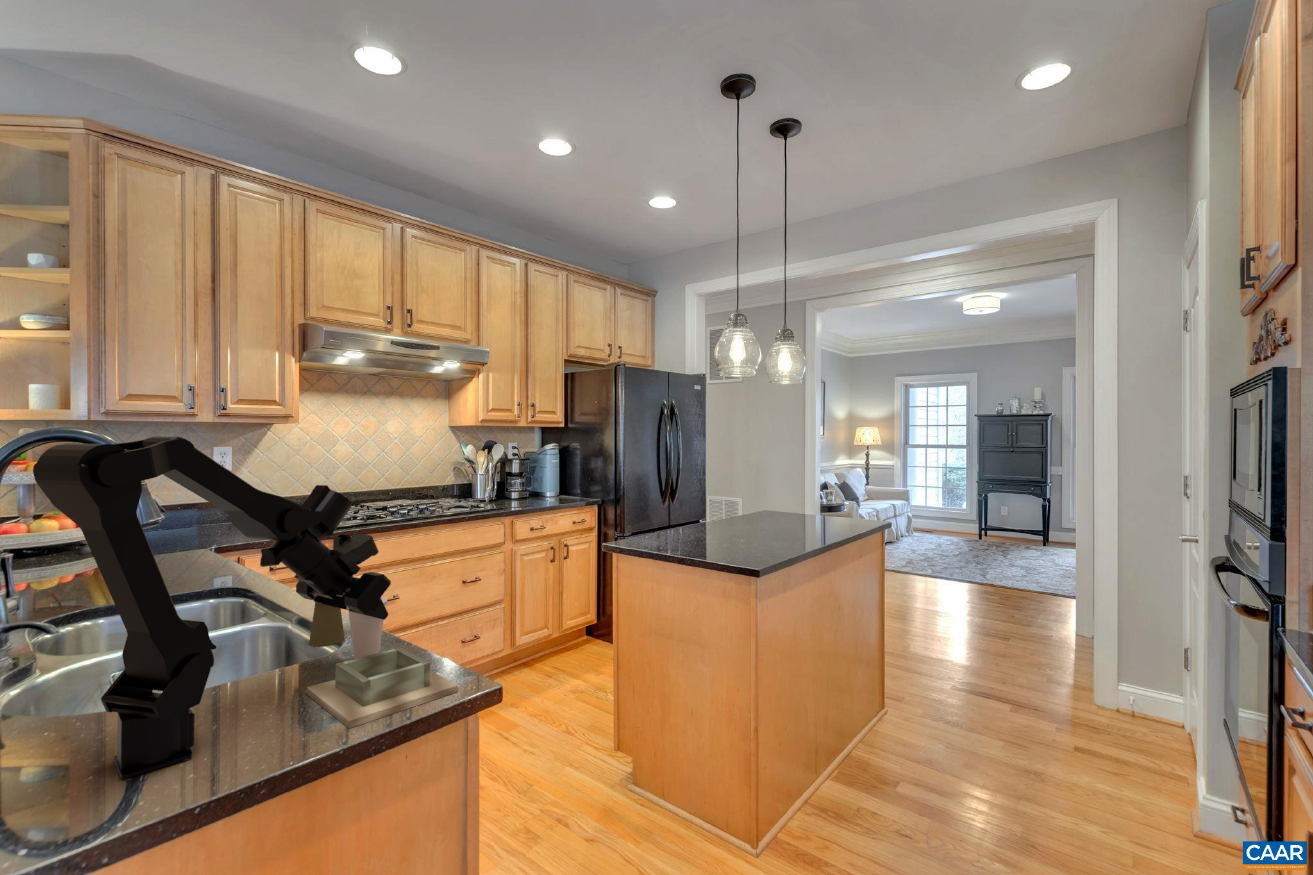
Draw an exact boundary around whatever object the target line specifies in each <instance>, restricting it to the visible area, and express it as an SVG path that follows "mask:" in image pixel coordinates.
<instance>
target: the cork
mask: <svg viewBox="0 0 1313 875" xmlns="http://www.w3.org/2000/svg"><path fill="white" fill-rule="evenodd" d="M313 595H314V598H315V597H316V595H315V594H313ZM314 598H313V600H312V601H313V602H314ZM310 627H311V628H310V634H309V640H308V645H309V646H311V647H314V648H315V647H317V648H318V647H319V648H320V647H331V646H335V645H339V644H341V643H342V642H344V641H345V639H346V638H345V631H344V623H343V616H342V609H341V608H337V607H333V606H329V605H325V604H321V603H318V602H314V608H313V616H312V621H311V626H310Z"/></svg>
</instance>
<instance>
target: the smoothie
mask: <svg viewBox="0 0 1313 875" xmlns="http://www.w3.org/2000/svg"><path fill="white" fill-rule="evenodd" d="M381 600H382V602H383V604H384V606H385V608H386V607H388V598H386V597H382V596H381ZM346 611H347V612H348V619H349V628H350V634H351V642H352V648H353V649H352V650H353V658H354V659H357V658H361V657H365V656H368V655H372V654H376V653H380V651H381V650H380V648H381V642H382V634H383V629H384V628H383V627H384V621H385V620H383V619H379V618H375V617H371V616H367V615H363V614H359V613H355V612H351V611H349V608H348V607H347V608H346Z"/></svg>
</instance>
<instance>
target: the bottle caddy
mask: <svg viewBox="0 0 1313 875" xmlns="http://www.w3.org/2000/svg"><path fill="white" fill-rule="evenodd" d="M334 678H335V679H332V680H329V681H325V682H321V683H318V684H313V685H310V686H307V687H306V695H307V696H308V697H309V698H311V699H312V700H314V701H315V703H317V704H318V705H319V706H321V707H322V708H323V709H325V710H326V711H327V712H328V713H329V714H331V715H332V716H333V717H334V718H335V719H337V720H338V721H339V722H341V723H342V724H343V725H344V726H346V728H348V729H352V728H355V727H358V726H361V725H363V724H367V723H370V722H372V721H376V720H378V719H382V718H384V717H387V716H390V715H393V714H396V713H399V712H402V711H405V710H408V709H411V708H415V707H416V706H420V705H422V704H426V703H429V702H431V701H434V700H438V699H440V698H443V697H446V696H449V695H453V694H455V693H458V692H459V684H457V683H455V682H453V681H452V680H451V681H450V680H449V679H448V678H445V677H443V676H442V675H440V674H438V673H436V672H434V671H432V670H431V662H429V661H427V660H425V659H424V658H421V657H420V656H418V655H416V654H414V653H412V652H410V651H408V650H406V649H404V648H402V647H397V648H393V649H389V650H385V651H379V653H376V654H372V655H368V656H365V657H361V658H357V659H349V660H345V661H341V662H339V663H338V662H337V663H335V677H334Z"/></svg>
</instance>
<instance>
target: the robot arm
mask: <svg viewBox="0 0 1313 875" xmlns="http://www.w3.org/2000/svg"><path fill="white" fill-rule="evenodd" d="M32 467H33V468H32V473H33V474H32V475H33V477H34V481H35V482H36V484H37V485H38V487H39V488H40V489H41V490H42V492H43V493H44V495H45V496H46V497H47V499H48V500H49V502H50V503H51V504H52V506H54V508H56V509H57V510H58V511H60V512H61V513H63V514H64V515H65V516H66V517H67V518H68V519H69V520H71V521H72V522H73V523H74V524H76V525H77V526H78V528H80V531H81V532H82V535H83V537H84V539H85V541H86V543H87V546H88V547H89V549H90V551H91V555H92V557H93V559H94V561H95V563H96V566H97V568H98V570H99V572H100V574H101V577H102V579H103V581H104V584H105V586H106V587H107V590H108V592H109V594H110V596H111V598H112V601H113V603H114V606H115V608H116V610H117V613H118V615H119V617H120V619H121V621H122V623H123V625H124V627H125V628H124V629H125V630H126V634H127V636H126V639H125V643H124V646H123V650H122V654H121V656H122V660H123V665H124V666H123V667H124V669H123V671H122V672H120V674H119V675H118V677H116V679H115V680H114V681H113V683H112V684H111V685H110V686H109V687H108V689H107V690H106V691H105V692H104V694H102V696H101V697H100V701H101V703H102V706H103V707H104V709H105V711H106V713H117V733H116V735H117V736H116V738H117V739H116V740H117V742H116V743H117V745H116V747H117V750H116V755H114V756H113V761H114V762H113V763H114V764H115V766H116V769H117V772H118V774H119V777H120V779H121V780H122V779H128V778H132V777H136V776H139V775H141V774H144V773H148V772H151V771H154V770H157V769H160V768H163V767H167V766H171V765H173V764H177V763H180V762H183V761H187V760H189V759H191V758H193V752H192V749H191V748H193V747H194V746H195V713H194V711H193V710H192V709H191V708H194V707H196V706H198V705H200V703H201V700H202V698H203V694H204V692H205V688H206V685H207V683H208V679H209V675H210V673H211V669H212V668H213V667H214V665H215V657H214V652H213V650H216V649H217V645H215V644H214V643H213V642H212V640H211V638H210V635H209V629H208V626H207V624H206V623H205V622H204V621H201V620H192V619H191V620H189V619H182V618H181V617H180V615H179V614H178V611H177V608H176V606H175V604H174V601H173V599H172V597H171V594H170V592H169V590H168V588H167V587H168V586H167V584H166V582H165V580H164V577H163V575H162V572H161V570H160V567H159V564H158V563H157V560H156V558H155V555H154V553H153V551H152V547H151V546H150V543H149V541H148V539H147V535H146V534H145V531H144V529H143V526H142V523H141V521H140V519H139V517H138V511H137V510H138V508H139V503H140V499H141V496H142V493H143V485H142V481H146V480H150V479H151V480H152V479H154V478H158V477H159V476H162V475H163V476H164V477H166V478H168V479H170V480H171V481H173V482H174V483H176V484H177V485H179V486H180V487H183V488H185V489H187V490H188V491H190V492H191V493H193V494H195V495H197V497H200V498H201V499H203V500H205V501H207V503H210V504H212V505H213V506H215V507H216V508H219V510H221V511H223V512H224V513H225V514H227V515H228V517H229V520H230V523H231V525H232V526H233V527H235V529H237V530H238V531H239V532H240V533H241V534H243V535H244V536H245V538H248V539H250V540H263V541H264V540H265V541H273V543H272V544H271V545H270V546H269V547H264V548H261V549H260V552H261V553H260V554H261V557H260V561H259V562H260V563H259V564H260V567H262V568H264V567H266V568H267V567H273V566H274V567H275V566H279V565H280V564H281V563H282V565H284V566H285V567H287V569H289V571H291V572H293V573H294V574H295V575H294V576H293V578H295V579H296V580H297V581H298V582H297V583H296V585H295V592H296V593H297V594H298V595H299V596H300V597H301V598H302V599H305V600H309V601H313V598H314V595H313V594H315V595H316V597H315V598H314V601H313V602H314V603H315V602H318V603H321V604H325V605H329V606H333V607H337V608H341V610H346V608H347V607H348V608H349V611H351V612H355V613H359V614H363V615H367V616H371V617H375V618H379V619H383V620H384V621H385V620H386V619H387V618H388V616H389V612H388V610H387V608H386V607H385V606H384V604H383V602H382V600H381V597H382V596H383V595H384V594H385V593H386V592H387V590H388V588H389V587H390V586H391V585H392V583H391V582H392V581H391V579H389V578H388V576H386V575H385V574H383V573H378V572H374V571H368V572H363V573H362V575H360V577H355V576H354V575H357V574H358V572H359V571H360V570H361V567H360V566H359V565H361V564H362V563H363V562H365V561H367V560H368V559H370V558H371V557H374V556H375V557H376V556H377V555H378V554H379V549H378V546H377V544H376V542H375V540H374V537H373V535H370V534H363V533H358V534H351V535H349V534H348V533H343V532H340V533H338V534H337V535H334V536H333V540H332V542H333V545H332V548H333V549H330V548H329V547H328V546H327V545H325V543H323V542H322V541H321V540H319V539H320V538H323V537H330V536H332V535H333V534H334V532H335V531H336V530H337V528H338V527H339V526H340V524H341V522H343V520H344V518H345V517H346V515H347V514H348V513H349V511H350V510H351V508H352V503H351V500H350V499H349V498H348V497H346V496H344V495H343V494H341V493H340V492H338V491H336V490H333V489H330V487H329V486H328V485H325V484H323V485H321V484H316V485H315V486H314V488H313V489H312V491H311V492H310V494H309V495H308V496H307V498H306V499H305V501H304V502H303V503H302V504H301V505H300V504H299V503H297V502H295V501H293V500H291V499H288V498H285V497H283V496H280V495H277V494H272V493H269V492H266V491H262V490H261V489H257V488H256V487H255V486H253V485H252V484H249V483H248V482H247V481H245V480H244V479H242V478H241V477H240V476H238V475H236V474H235V473H234V472H232V471H231V470H229V469H227V468H226V467H225V466H223V465H222V464H220V463H219V462H218V461H215V460H214V459H212V458H211V457H209V456H208V455H206V454H205V453H204V452H202V451H201V450H199V449H198V448H196V447H195V445H194V444H193V443H192V442H191V441H190V440H188V439H186V438H184V437H182V436H151V437H147V438H145V439H144V438H143V439H139V440H134V441H126V442H119V443H112V444H109V443H73V442H72V443H67V442H66V443H61V444H56V445H53V446H52V447H49V448H47V449H46V450H45V451H44V452H43V453H41V455H40V456H39V458H38V460H37V461H36V463H34V465H33V466H32ZM346 611H347V610H346ZM349 611H348V612H349ZM153 691H159V692H153ZM160 692H161V693H160Z"/></svg>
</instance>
